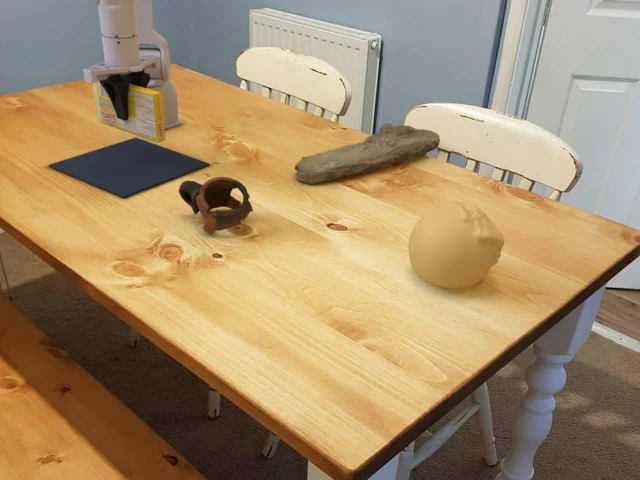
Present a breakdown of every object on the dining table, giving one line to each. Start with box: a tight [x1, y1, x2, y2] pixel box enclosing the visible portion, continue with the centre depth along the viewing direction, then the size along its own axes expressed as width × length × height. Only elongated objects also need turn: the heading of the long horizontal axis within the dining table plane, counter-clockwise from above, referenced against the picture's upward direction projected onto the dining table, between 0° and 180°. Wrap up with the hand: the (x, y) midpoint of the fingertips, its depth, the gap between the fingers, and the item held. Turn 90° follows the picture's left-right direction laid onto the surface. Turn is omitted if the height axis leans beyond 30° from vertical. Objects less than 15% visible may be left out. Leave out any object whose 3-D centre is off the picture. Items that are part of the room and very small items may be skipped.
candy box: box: [92, 81, 166, 143], centre depth 119 cm, size 16×2×8 cm, turn 53°
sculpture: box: [407, 200, 505, 289], centre depth 94 cm, size 12×12×11 cm
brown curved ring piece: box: [178, 176, 254, 236], centre depth 106 cm, size 12×10×8 cm
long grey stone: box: [294, 122, 441, 185], centre depth 130 cm, size 35×5×10 cm
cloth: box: [48, 137, 210, 199], centre depth 124 cm, size 20×20×1 cm
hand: (128, 117), depth 120 cm, fingers closed on candy box, 2 cm apart
